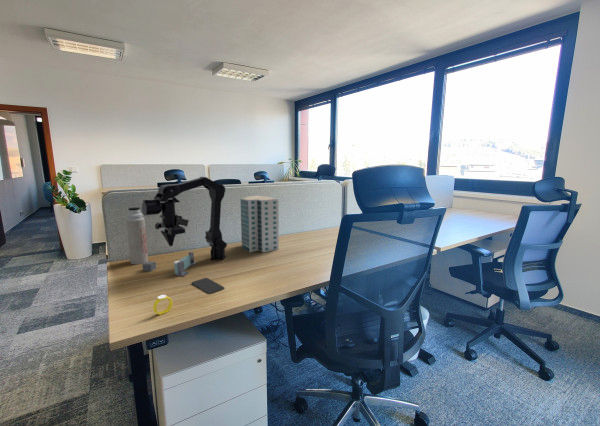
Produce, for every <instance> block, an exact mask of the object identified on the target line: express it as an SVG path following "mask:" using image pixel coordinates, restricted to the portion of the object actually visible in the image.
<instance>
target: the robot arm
mask: <svg viewBox="0 0 600 426" xmlns="http://www.w3.org/2000/svg"><path fill="white" fill-rule="evenodd" d="M199 187H200V188H201V187H203V188H205V189H206V190H208V195H209V198H210V201H211V202H210V203H211V205H210V221H209V222H210V223H209V224H210V226H209V229H208V230H207V231H205V237H204V240H205V241H206V243H207V244H208V245H209V246H210V260H211V261H214V260H215V261H223V260H224V259H226V257H227V254H226V250H225V249H226V248H227V246H228V243H227V242H225V241H224V240H223V234H222V231H221V229H220V228H221V210H222V208H221V207H222V201H223V199H224V197H225V194H226V186H224V184H222V183H218V182H216V181H214V180H212V179H210V178H208V177H207V176H199V177H197V178H194V179H191V180H186V181H183V182H180V183H174V184H173V183H171V184H170V183H169V184H161V185H160V186H159V188H158V190H157V194H156V195H155V196H154V198H153V199H143V201H142V204H141V211H142V212H141V213H142V215H143V217H144V216H154V215H155V216H156V215H159V214H160V213H161V214H160V216H159V217H160V218H161V219H162V220H161V221H160V222H156V223H155V225H154V228H155V230H160V229H161V230H160V233H161V234H162V236H163V238H164V240H165V241H166V242H167V244H168V246H169V247H173V245H174V242H175V239H176V238H175V237H176V235H183V234H186V228H187V227H188V225H189V222H190V220H189V219H185V218H183V216H181V215H177V214H176V204H177V203H180V200H178V199H177V196H179V195H180V194H182V193H183V192H186V191H189V190H192V189H193V190H194V189H196V188H199ZM185 227H186V228H185Z"/></svg>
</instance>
